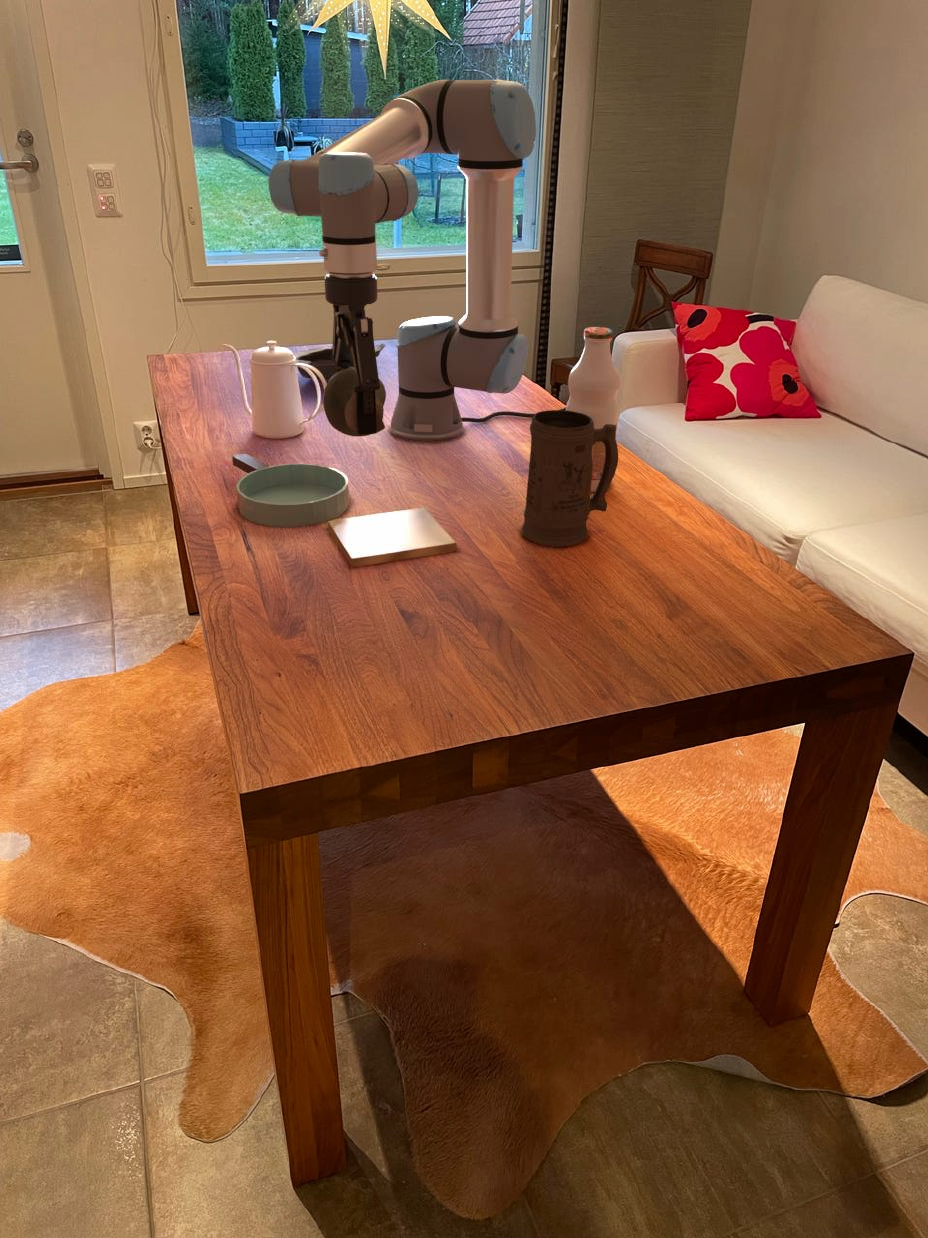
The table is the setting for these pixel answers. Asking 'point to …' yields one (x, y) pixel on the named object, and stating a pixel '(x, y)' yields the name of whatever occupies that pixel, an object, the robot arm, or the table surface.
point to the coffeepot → (276, 391)
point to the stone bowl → (322, 361)
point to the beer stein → (565, 476)
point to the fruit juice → (595, 390)
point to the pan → (292, 495)
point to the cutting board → (390, 536)
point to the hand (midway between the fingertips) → (356, 420)
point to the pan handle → (247, 463)
